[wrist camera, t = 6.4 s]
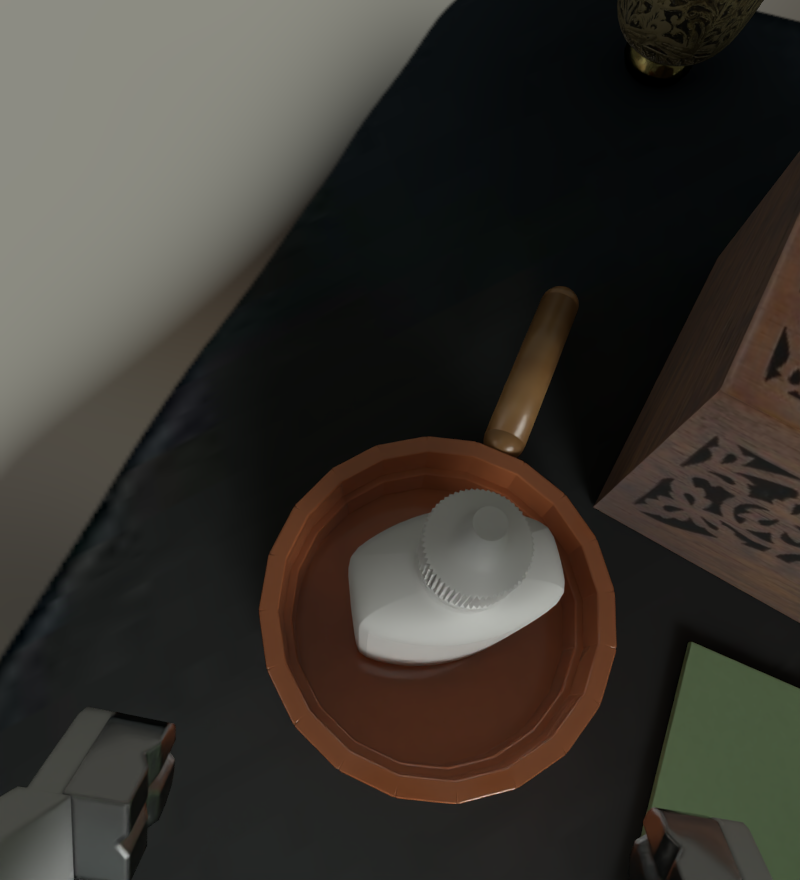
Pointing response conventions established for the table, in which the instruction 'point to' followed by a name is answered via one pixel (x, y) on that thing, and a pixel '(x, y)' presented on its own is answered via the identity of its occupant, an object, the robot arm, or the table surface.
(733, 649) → the table surface
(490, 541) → the eye dropper bottle
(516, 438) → the pan handle
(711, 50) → the cup
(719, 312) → the tissue box cover
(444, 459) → the pan
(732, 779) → the napkin
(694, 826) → the robot arm
